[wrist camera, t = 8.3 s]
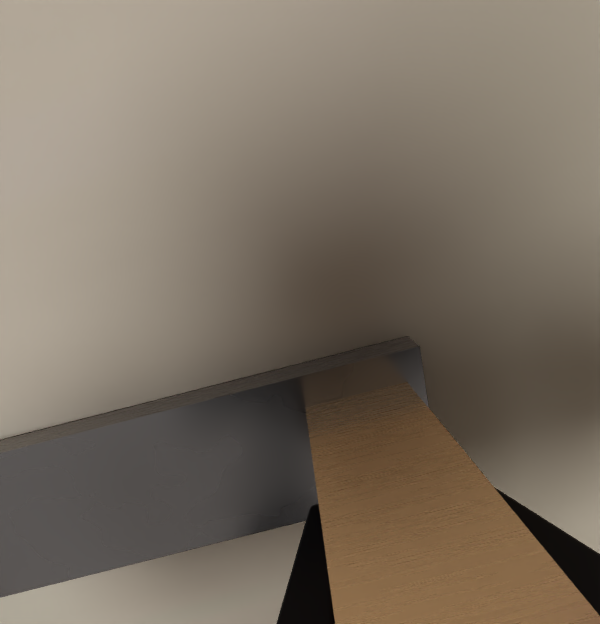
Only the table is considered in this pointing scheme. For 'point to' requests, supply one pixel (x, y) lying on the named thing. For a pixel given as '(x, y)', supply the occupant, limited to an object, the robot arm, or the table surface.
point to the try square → (287, 494)
